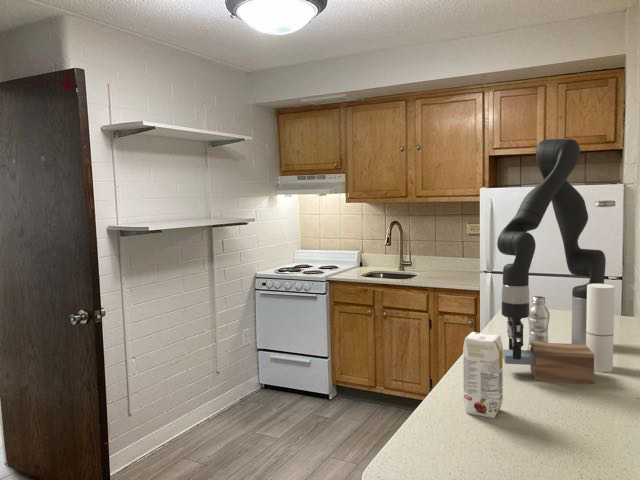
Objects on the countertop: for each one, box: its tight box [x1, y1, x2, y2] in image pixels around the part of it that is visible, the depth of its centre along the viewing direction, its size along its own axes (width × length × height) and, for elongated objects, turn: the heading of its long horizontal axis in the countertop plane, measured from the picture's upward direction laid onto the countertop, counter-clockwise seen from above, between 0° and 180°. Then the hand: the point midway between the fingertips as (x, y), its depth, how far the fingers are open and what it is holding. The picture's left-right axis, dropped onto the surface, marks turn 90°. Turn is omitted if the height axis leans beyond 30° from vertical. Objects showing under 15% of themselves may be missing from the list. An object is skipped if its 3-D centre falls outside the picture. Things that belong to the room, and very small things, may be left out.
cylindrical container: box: [586, 283, 615, 373], centre depth 154 cm, size 7×7×25 cm
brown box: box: [529, 342, 595, 385], centre depth 149 cm, size 9×15×8 cm, turn 77°
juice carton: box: [462, 331, 504, 419], centre depth 127 cm, size 8×9×19 cm
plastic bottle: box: [526, 295, 551, 350], centre depth 164 cm, size 6×7×20 cm
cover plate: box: [503, 348, 535, 366], centre depth 150 cm, size 6×20×2 cm, turn 77°
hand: (514, 354), depth 151 cm, fingers open, 8 cm apart
